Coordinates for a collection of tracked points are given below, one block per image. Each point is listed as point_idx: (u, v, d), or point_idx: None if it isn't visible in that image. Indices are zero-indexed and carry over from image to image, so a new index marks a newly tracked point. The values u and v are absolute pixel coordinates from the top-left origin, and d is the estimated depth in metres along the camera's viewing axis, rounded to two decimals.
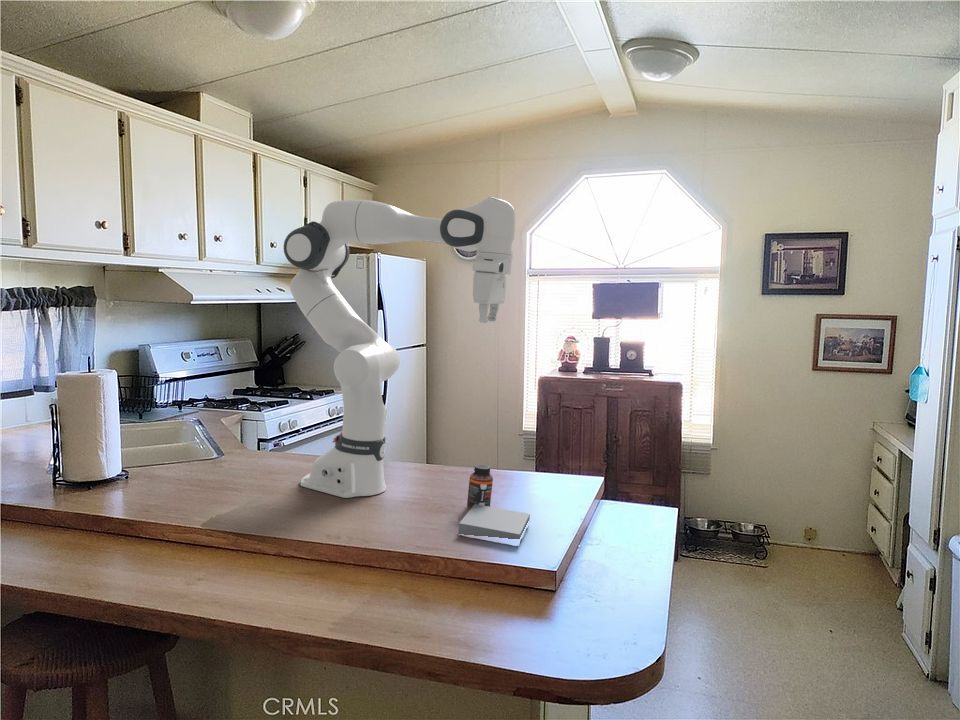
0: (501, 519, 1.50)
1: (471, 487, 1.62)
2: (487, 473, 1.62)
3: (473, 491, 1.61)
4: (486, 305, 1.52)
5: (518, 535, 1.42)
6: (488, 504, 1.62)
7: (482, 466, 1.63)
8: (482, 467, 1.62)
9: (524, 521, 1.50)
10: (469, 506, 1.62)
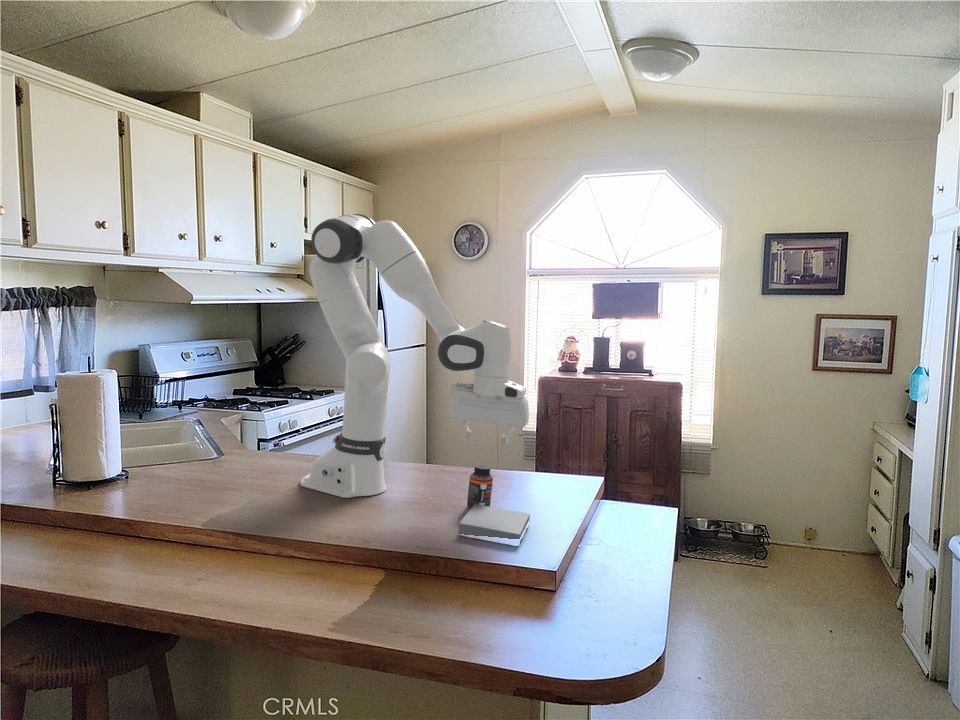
0: (501, 519, 1.50)
1: (471, 487, 1.62)
2: (487, 473, 1.62)
3: (473, 491, 1.61)
4: None
5: (518, 535, 1.42)
6: (488, 504, 1.62)
7: (482, 466, 1.63)
8: (482, 467, 1.62)
9: (524, 521, 1.50)
10: (469, 506, 1.62)
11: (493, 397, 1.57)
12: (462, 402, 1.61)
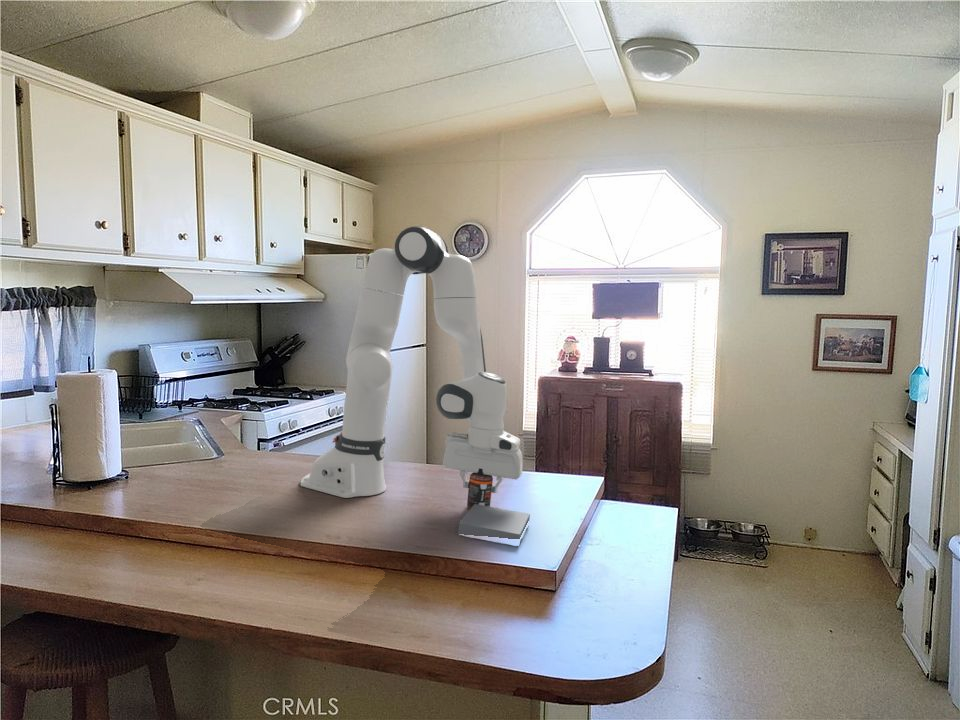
0: (501, 519, 1.50)
1: (471, 487, 1.62)
2: None
3: (473, 491, 1.61)
4: None
5: (518, 535, 1.42)
6: (488, 504, 1.62)
7: None
8: None
9: (524, 521, 1.50)
10: (469, 506, 1.62)
11: (487, 449, 1.59)
12: (456, 452, 1.62)
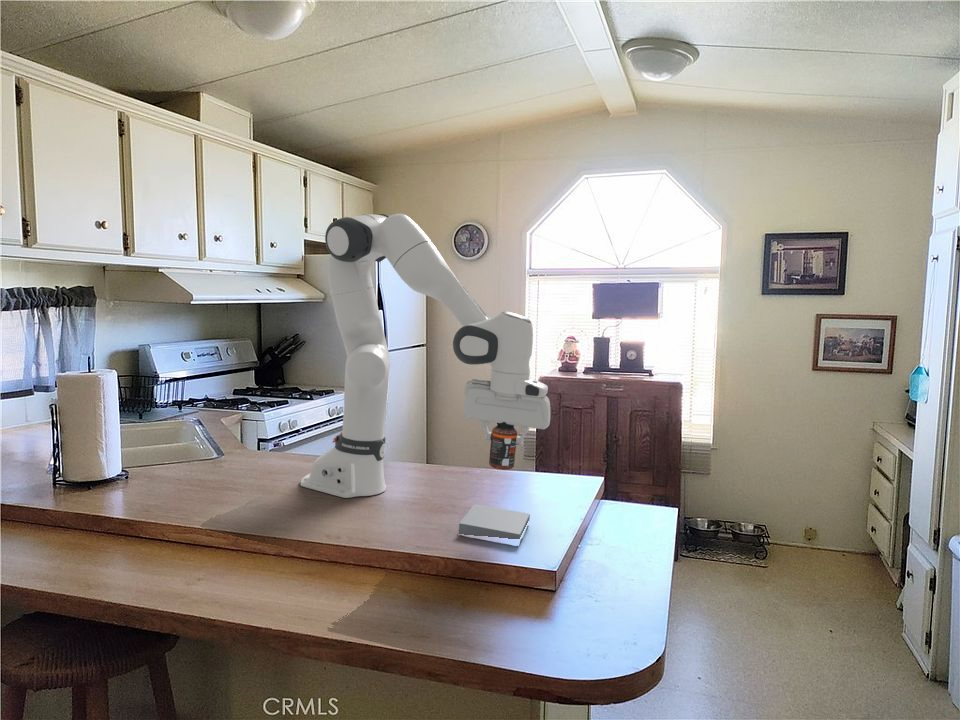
0: (501, 519, 1.50)
1: (494, 442, 1.47)
2: (511, 426, 1.47)
3: (496, 446, 1.46)
4: None
5: (518, 535, 1.42)
6: (513, 460, 1.48)
7: None
8: None
9: (524, 521, 1.50)
10: (492, 463, 1.47)
11: (512, 395, 1.44)
12: (477, 401, 1.47)
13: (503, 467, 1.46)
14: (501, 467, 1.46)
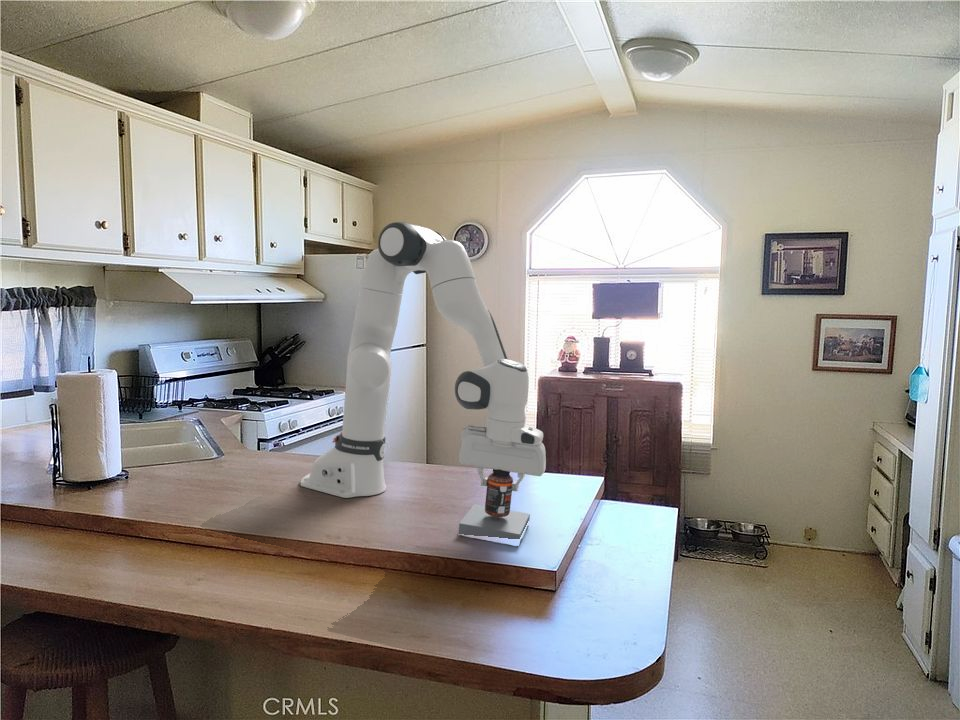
0: (501, 519, 1.50)
1: (490, 489, 1.48)
2: (507, 474, 1.48)
3: (492, 494, 1.48)
4: None
5: (518, 535, 1.42)
6: (508, 508, 1.49)
7: None
8: None
9: (524, 521, 1.50)
10: (487, 510, 1.49)
11: (508, 443, 1.45)
12: (473, 447, 1.49)
13: (499, 515, 1.48)
14: (497, 515, 1.48)
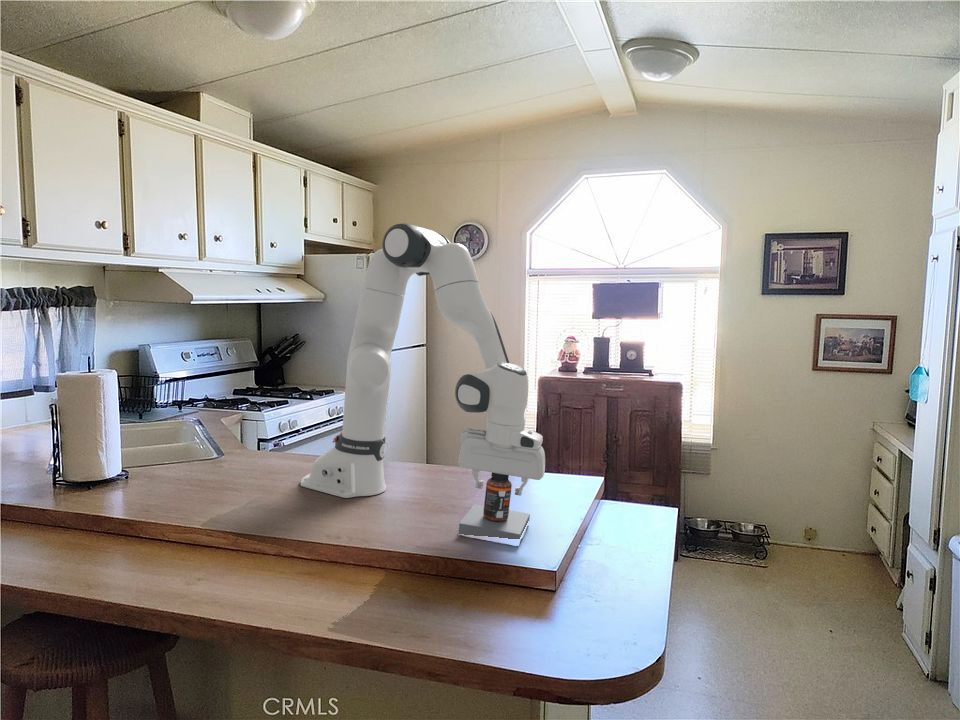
0: None
1: (488, 494, 1.48)
2: (506, 479, 1.48)
3: (490, 499, 1.48)
4: None
5: (518, 535, 1.42)
6: (507, 512, 1.49)
7: None
8: None
9: (524, 521, 1.50)
10: (486, 515, 1.49)
11: (507, 446, 1.45)
12: (473, 450, 1.49)
13: (497, 519, 1.48)
14: (495, 519, 1.48)
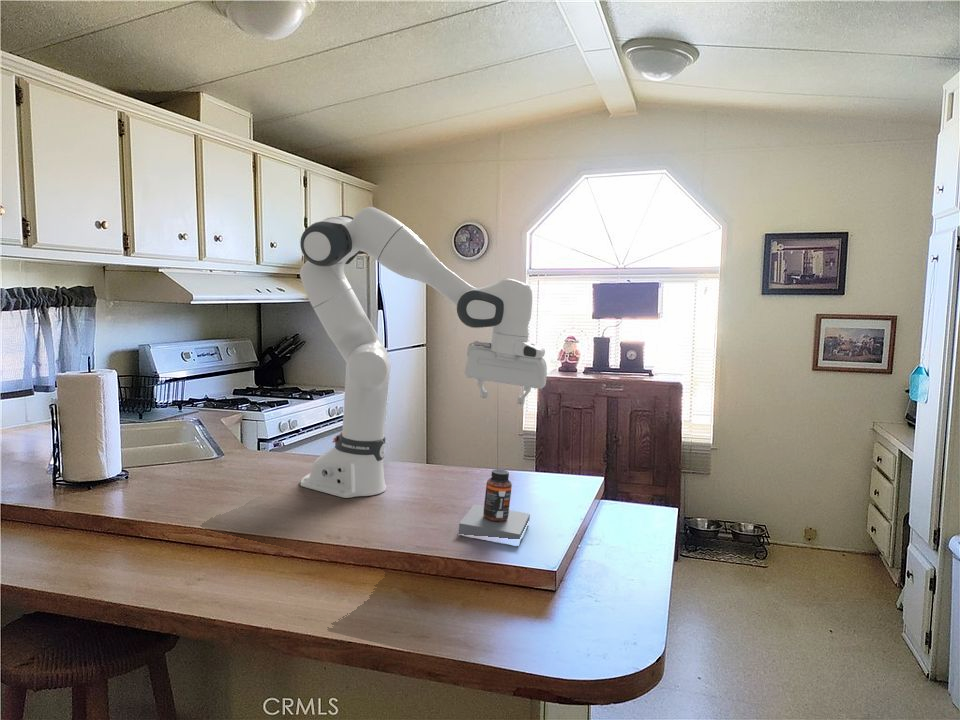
0: None
1: (488, 494, 1.48)
2: (506, 479, 1.48)
3: (490, 499, 1.48)
4: (530, 387, 1.57)
5: (518, 535, 1.42)
6: (507, 512, 1.49)
7: (500, 471, 1.50)
8: (500, 472, 1.49)
9: (524, 521, 1.50)
10: (486, 515, 1.49)
11: (511, 356, 1.54)
12: (479, 361, 1.58)
13: (497, 519, 1.48)
14: (495, 519, 1.48)
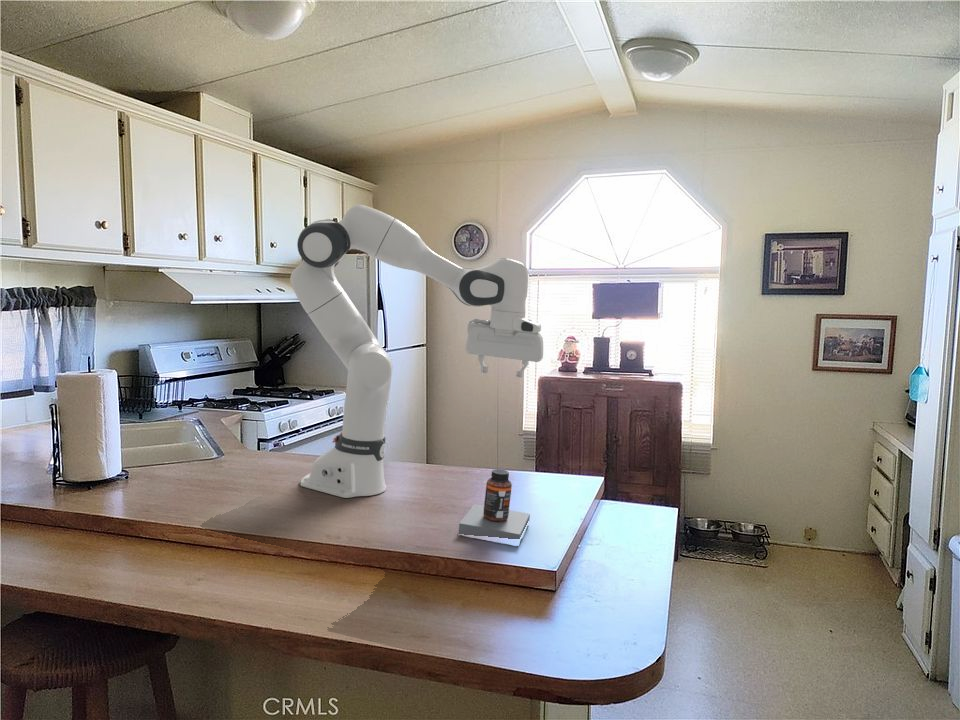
0: None
1: (488, 494, 1.48)
2: (506, 479, 1.48)
3: (490, 499, 1.48)
4: (528, 361, 1.66)
5: (518, 535, 1.42)
6: (507, 512, 1.49)
7: (500, 471, 1.50)
8: (500, 472, 1.49)
9: (524, 521, 1.50)
10: (486, 515, 1.49)
11: (509, 332, 1.63)
12: (479, 337, 1.66)
13: (497, 519, 1.48)
14: (495, 519, 1.48)
